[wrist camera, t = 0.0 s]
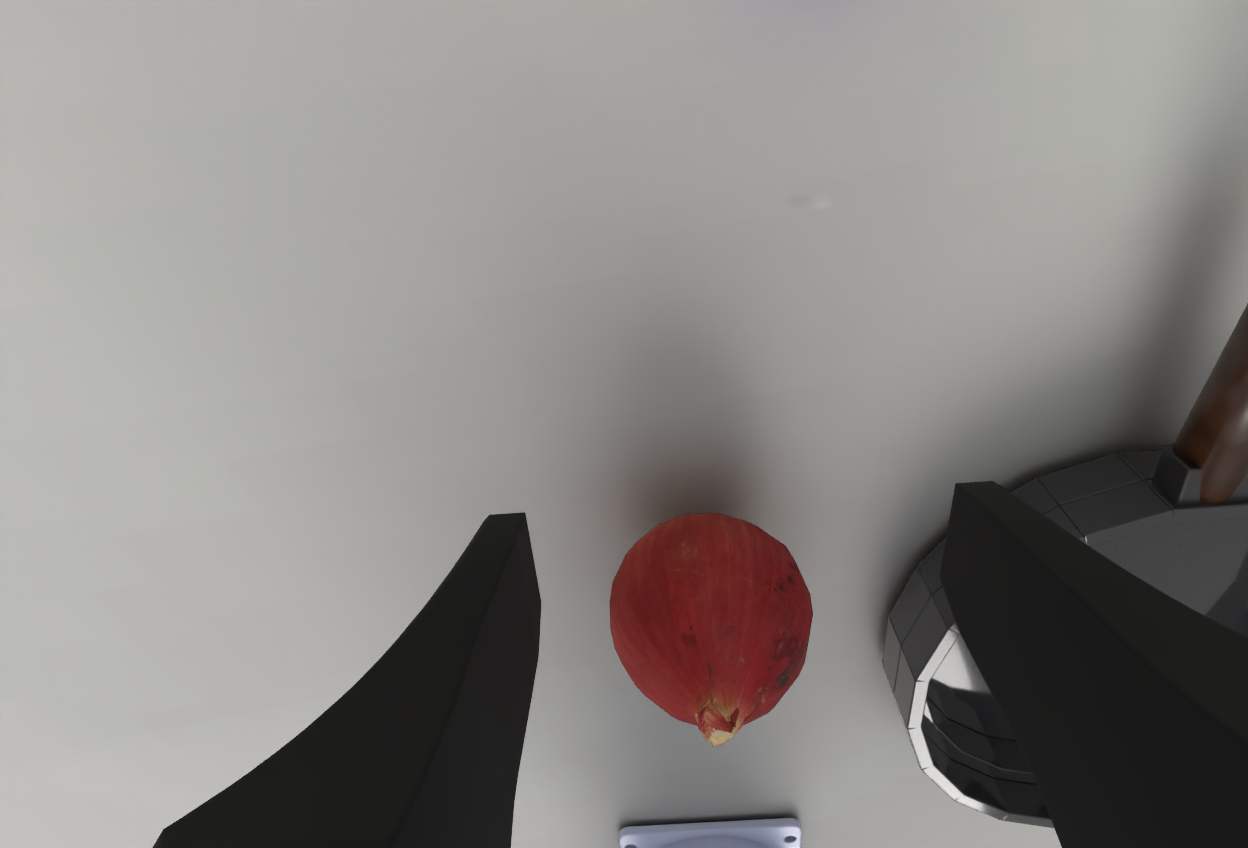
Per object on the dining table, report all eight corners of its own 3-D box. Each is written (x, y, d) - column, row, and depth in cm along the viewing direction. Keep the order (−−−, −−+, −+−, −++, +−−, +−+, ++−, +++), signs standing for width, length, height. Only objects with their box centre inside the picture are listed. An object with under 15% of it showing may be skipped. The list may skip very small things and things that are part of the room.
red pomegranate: (793, 459, 25) (862, 655, 18) (778, 595, 27) (831, 808, 21) (608, 463, 25) (605, 660, 18) (612, 598, 28) (611, 812, 21)
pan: (1234, 737, 32) (1297, 816, 29) (863, 758, 32) (888, 838, 29) (1394, 423, 24) (1501, 488, 21) (902, 457, 25) (941, 525, 22)
